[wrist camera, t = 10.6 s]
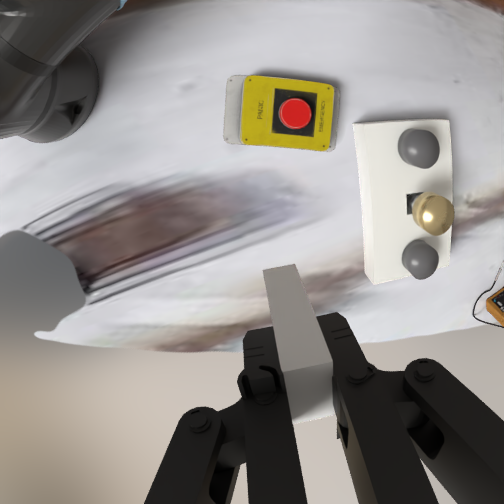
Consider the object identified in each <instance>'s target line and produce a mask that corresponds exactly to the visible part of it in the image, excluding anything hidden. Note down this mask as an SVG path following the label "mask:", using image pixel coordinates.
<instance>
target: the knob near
mask: <svg viewBox="0 0 504 504" xmlns="http://www.w3.org/2000/svg"><path fill="white" fill-rule="evenodd" d="M398 153H399V155H400V157H401V159H402V160H403V161H404V162H405V163H407V164H409V165H412V166H415V167H418V168H422V169H428V168H430V167H432V166H433V165H434V164H435V163H436V162H437V160H438V158H439V154H440V146H439V142H438V140H437V138H436V136H435V135H434V134H433V133H431V132H430V131H427V130H421V129H407V130H405V131H404V132H403V133H402V134H401V136H400V137H399V140H398Z"/></svg>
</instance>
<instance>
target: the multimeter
mask: <svg viewBox="0 0 504 504" xmlns="http://www.w3.org/2000/svg"><path fill="white" fill-rule="evenodd" d="M503 263H504V261H503ZM502 266H503V264H502ZM502 266H501V268H502ZM501 268H499V271H498V274H497V276H496V278H495V282H496V280H497V279H498V276H499V274H500V272H501V270H502V269H501ZM495 282H494V284H495ZM494 284H493V286H494ZM493 286H492V288H493ZM492 288H491V289H492ZM491 289H490V290H491ZM490 290H488V291H490ZM488 291H485V292H484V293H486V292H488ZM484 293H483V294H484ZM483 294H481V296H482V295H483ZM481 296H480V297H481ZM480 297H479V298H480ZM479 298H478V299H477V301H478V300H479ZM477 301H476V303H477ZM476 303H475V305H476ZM475 305H474V309H475ZM486 307H487V311H488V312H489V313H490V314H491V315H492V316H493V317H494V318H495V319H496V320H497V321H498V322H499V323H501V325H502V326H499V325H495V324H491V323H488V322H485V321H482V320H479V319H477V318H476V317H475V316H474V309H473V317H474V318H475V319H477V320H479V321H481V322H484V323H487V324H490V325H494V326H498V327H502V328H504V287H503V288H502V289H501V290H500V291H498V292H497V293H496V294H494V295H493V296H492V297H490V298H488V299H487V300H486Z"/></svg>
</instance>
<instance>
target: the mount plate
mask: <svg viewBox="0 0 504 504" xmlns="http://www.w3.org/2000/svg"><path fill="white" fill-rule="evenodd" d="M407 129H421V130H427V131H430V132H431V133H433V134H434V135H435V136H436V138H437V140H438V142H439V146H440V154H439V158H438V160H437V162H436V163H435V164H434V165H433V166H432V167H430V168H428V169H422V168H418V167H415V166H412V165H409V164H407V163H405V162H404V161H403V160H402V159H401V157H400V155H399V153H398V140H399V137H400V136H401V134H402V133H403V132H404V131H405V130H407ZM353 131H354V138H355V146H356V154H357V163H358V173H359V183H360V194H361V206H362V221H363V239H364V264H365V274H366V275H367V277H368V278H369V279H370V280H371V282H372V283H373V284H374V285H376V284H380V283H385V282H389V281H393V280H397V279H401V278H405V277H409V276H413V275H412V274H411V273H410V272H409V271H408V270H407V269H406V268H405V267H404V266H403V264H402V253H403V251H404V249H405V247H406V246H407V245H408V244H409V243H410V242H412V241H414V240H423V241H425V242H426V243H427V244H429V245H430V246H431V247H433V248H434V249H435V250H436V251H437V252H438V255H439V263H438V266H437V269H439V268H443V267H447V266H449V257H450V245H451V229H452V225H451V227H450V228H449V229H448V230H447V231H446V232H445V233H444V234H442V235H439V236H433V235H431V234H429V233H428V232H426V231H425V230H424V229H422V228H421V227H419V226H418V225H417V224H416V223H415V222H414V220H413V216H412V211H411V210H410V209H408V208H407V199H406V194H416V195H418V196H420V195H421V194H422V193H424V192H434V193H436V194H438V195H440V196H442V197H444V198H446V199H448V200H449V201H450V202H451V203H452V197H453V183H452V152H451V136H450V124H449V120H443V119H410V120H392V121H377V122H365V123H354V124H353Z"/></svg>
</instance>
